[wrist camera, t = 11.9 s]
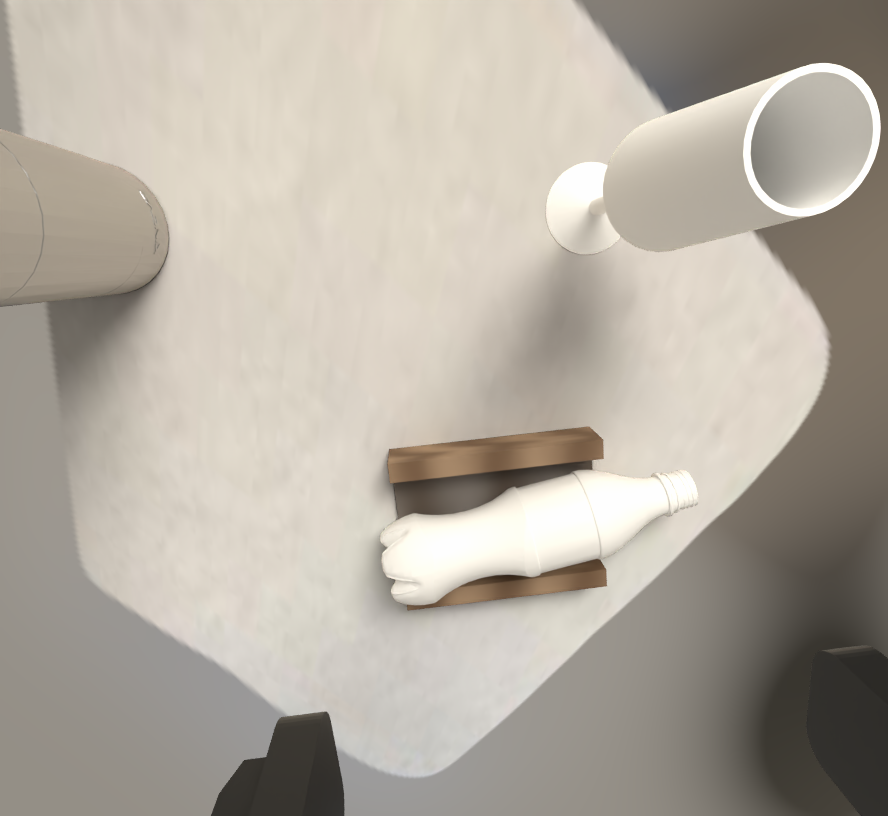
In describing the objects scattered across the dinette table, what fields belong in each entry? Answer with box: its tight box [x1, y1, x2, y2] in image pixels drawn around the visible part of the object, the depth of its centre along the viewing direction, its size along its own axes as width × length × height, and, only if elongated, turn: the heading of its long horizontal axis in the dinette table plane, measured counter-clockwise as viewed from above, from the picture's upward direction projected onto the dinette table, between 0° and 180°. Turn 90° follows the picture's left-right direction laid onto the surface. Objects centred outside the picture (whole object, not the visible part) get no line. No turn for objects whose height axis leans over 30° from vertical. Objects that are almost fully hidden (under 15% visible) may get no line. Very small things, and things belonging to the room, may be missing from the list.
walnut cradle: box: [388, 427, 607, 610], centre depth 46 cm, size 17×13×4 cm
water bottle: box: [380, 470, 698, 605], centre depth 44 cm, size 7×7×25 cm
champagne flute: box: [546, 63, 880, 255], centre depth 30 cm, size 7×7×24 cm
